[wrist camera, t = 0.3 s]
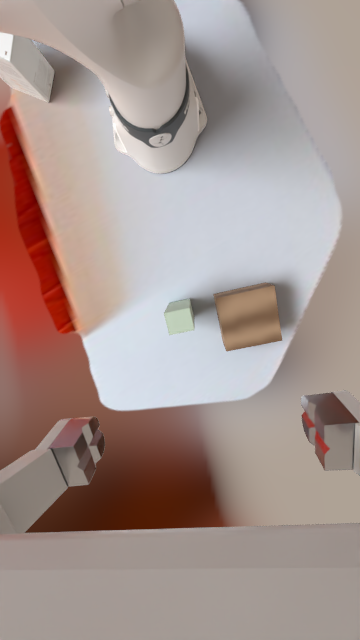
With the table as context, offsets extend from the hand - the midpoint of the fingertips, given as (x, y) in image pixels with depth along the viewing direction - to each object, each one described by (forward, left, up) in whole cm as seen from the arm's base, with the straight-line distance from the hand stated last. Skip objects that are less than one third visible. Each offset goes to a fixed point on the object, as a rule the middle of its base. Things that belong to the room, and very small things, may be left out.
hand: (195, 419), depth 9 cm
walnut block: (+9, +10, -47) cm, 49 cm away
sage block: (+5, -4, -47) cm, 47 cm away
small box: (-46, -22, -47) cm, 70 cm away
